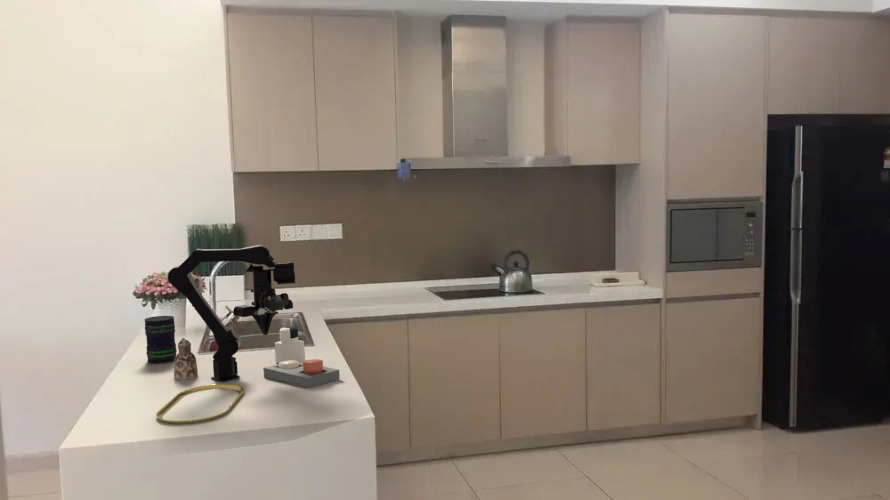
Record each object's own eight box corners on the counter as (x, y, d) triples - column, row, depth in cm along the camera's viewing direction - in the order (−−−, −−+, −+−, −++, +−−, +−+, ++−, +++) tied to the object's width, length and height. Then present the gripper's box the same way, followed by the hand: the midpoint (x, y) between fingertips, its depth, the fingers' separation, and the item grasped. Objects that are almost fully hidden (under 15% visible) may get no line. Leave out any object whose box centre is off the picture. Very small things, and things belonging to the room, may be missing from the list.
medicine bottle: (291, 359, 266) (290, 324, 265) (305, 361, 262) (303, 326, 261) (275, 363, 261) (273, 328, 260) (289, 366, 256) (287, 330, 255)
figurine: (173, 380, 243) (170, 342, 242) (175, 375, 250) (172, 338, 248) (197, 378, 245) (195, 340, 244) (198, 372, 252) (196, 336, 250)
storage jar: (167, 364, 265) (164, 320, 264) (141, 363, 267) (138, 320, 266) (182, 357, 275) (179, 315, 273) (157, 357, 277) (154, 315, 275)
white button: (287, 378, 240) (286, 365, 239) (275, 375, 244) (275, 363, 243) (303, 374, 244) (302, 362, 244) (291, 371, 248) (290, 359, 248)
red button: (311, 378, 232) (311, 364, 231) (299, 375, 236) (298, 362, 235) (327, 373, 236) (326, 360, 236) (314, 371, 240) (314, 358, 240)
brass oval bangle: (146, 428, 197) (145, 422, 197) (187, 390, 232) (187, 385, 232) (220, 425, 198) (220, 419, 198) (250, 388, 232) (250, 382, 232)
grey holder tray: (308, 388, 228) (307, 378, 228) (264, 377, 243) (263, 367, 243) (339, 379, 237) (339, 369, 237) (295, 369, 252) (294, 360, 252)
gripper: (252, 291, 230) (255, 343, 232) (302, 283, 244) (305, 332, 245) (230, 288, 237) (233, 338, 239) (281, 281, 251) (283, 328, 253)
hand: (265, 334), depth 244 cm, fingers closed
